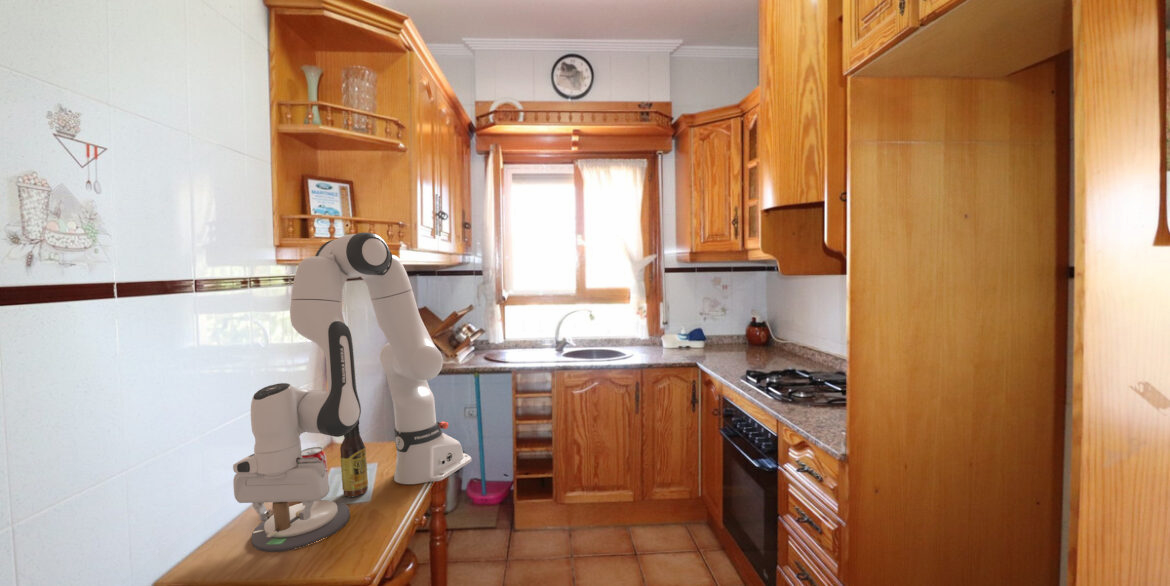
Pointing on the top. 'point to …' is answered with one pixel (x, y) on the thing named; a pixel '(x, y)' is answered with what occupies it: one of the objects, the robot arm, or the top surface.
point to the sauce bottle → (353, 463)
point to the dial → (298, 518)
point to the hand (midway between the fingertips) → (285, 519)
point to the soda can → (315, 455)
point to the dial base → (290, 543)
